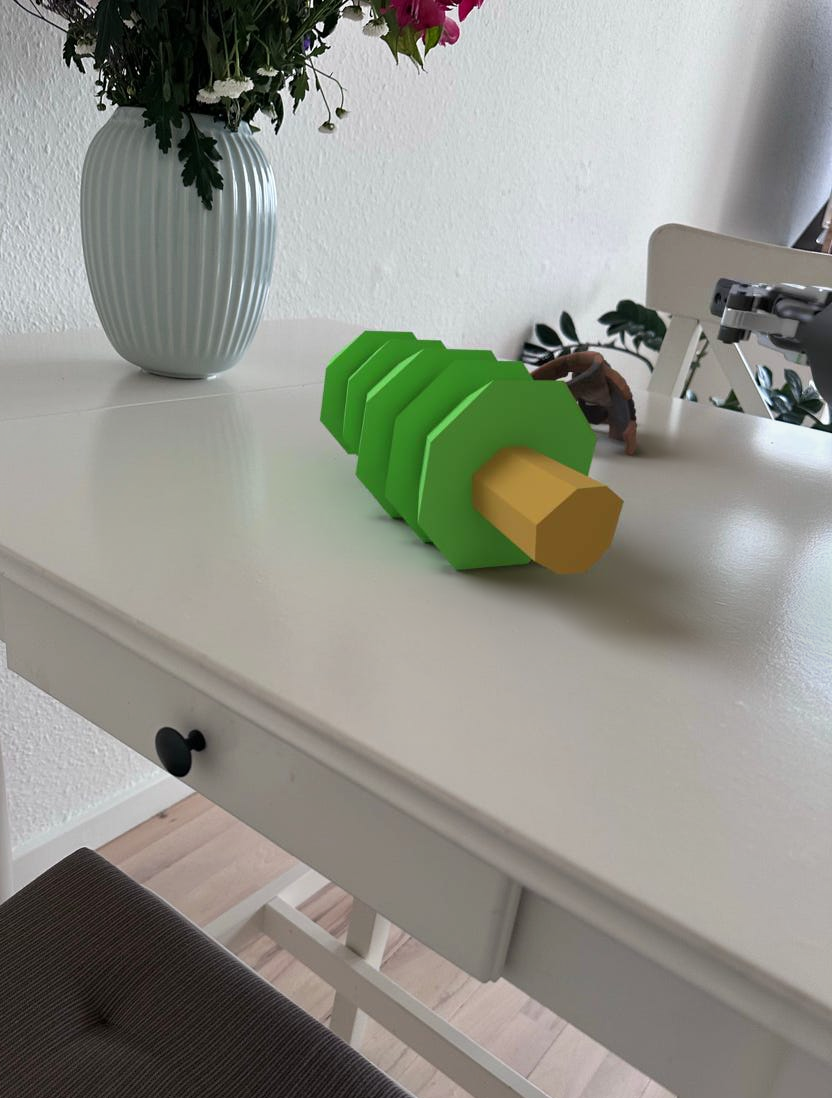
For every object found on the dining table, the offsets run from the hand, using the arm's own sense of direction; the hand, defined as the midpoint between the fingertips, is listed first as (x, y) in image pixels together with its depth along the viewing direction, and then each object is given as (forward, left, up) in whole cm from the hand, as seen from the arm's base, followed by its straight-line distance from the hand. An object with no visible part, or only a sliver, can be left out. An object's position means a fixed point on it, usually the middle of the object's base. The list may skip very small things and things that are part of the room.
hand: (723, 296), depth 60 cm
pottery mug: (-1, -16, -14) cm, 21 cm away
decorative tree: (+19, +2, -14) cm, 24 cm away
